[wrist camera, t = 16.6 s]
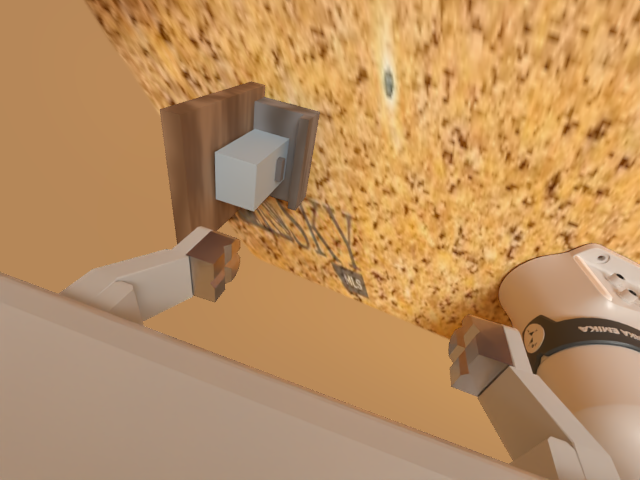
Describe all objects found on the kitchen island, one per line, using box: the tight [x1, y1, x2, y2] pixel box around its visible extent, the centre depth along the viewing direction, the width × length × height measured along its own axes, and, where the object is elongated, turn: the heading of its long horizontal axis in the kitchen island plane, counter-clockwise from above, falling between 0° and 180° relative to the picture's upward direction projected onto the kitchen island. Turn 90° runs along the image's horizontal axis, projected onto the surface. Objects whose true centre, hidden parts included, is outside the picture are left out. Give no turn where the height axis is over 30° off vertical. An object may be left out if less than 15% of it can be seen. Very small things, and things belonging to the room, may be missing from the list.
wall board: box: [160, 82, 320, 244], centre depth 39 cm, size 10×16×18 cm, turn 169°
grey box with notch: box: [215, 129, 289, 211], centre depth 39 cm, size 6×6×10 cm
